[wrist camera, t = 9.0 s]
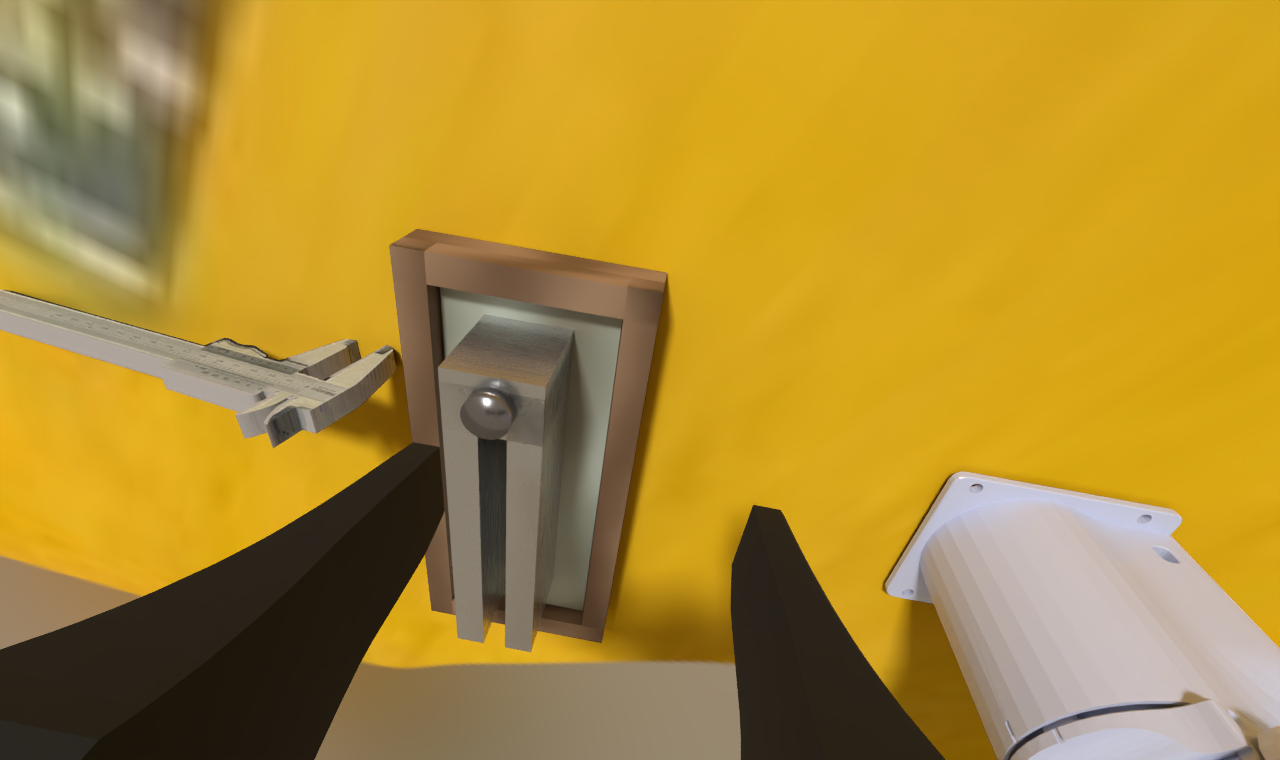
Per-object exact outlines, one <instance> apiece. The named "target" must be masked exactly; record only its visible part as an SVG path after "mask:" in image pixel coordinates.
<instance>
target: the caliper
mask: <svg viewBox="0 0 1280 760" xmlns="http://www.w3.org/2000/svg"><path fill="white" fill-rule="evenodd" d="M0 330H3V331H6V332H10V333H13V334H16V335H19V336H23V337H26V338H29V339H32V340H36V341H39V342H42V343H46V344H49V345H52V346H56V347H59V348H62V349H66V350H69V351H72V352H76V353H79V354H82V355H86V356H89V357H92V358H96V359H99V360H102V361H105V362H109V363H112V364H115V365H119V366H122V367H125V368H129V369H132V370H135V371H139V372H142V373H145V374H149V375H152V376H155V377H159V378H162V379H163V381H164V384H165V386H166V388H167V389H169V390H172V391H175V392H179V393H182V394H185V395H188V396H191V397H194V398H197V399H200V400H203V401H206V402H210V403H213V404H216V405H219V406H222V407H225V408H228V409H231V410H234V411H237V412H238V413H237V414H236V417H237V420H238V423H239V425H240V428H241V430H242V433H243V436H244V438H250V437H254V436H257V435H260V434H264V433H268V436H269V438H270V441H271V444H272V446H273V448H274V447H276V446H277V445H279V444H281V443H282V442H284V441H285V440H287V439H288V438H290V437H292V436H293V435H295V434H296V433H298V432H299V431H301V430H305V431H309V432H313V433H318V432H319V431H321V430H322V429H324V428H326V427H327V426H329V425H331V424H332V423H334V422H335V421H337V420H339V419H340V418H342V417H344V416H345V415H347V414H348V413H350V412H352V411H353V410H355V409H356V408H358V407H360V406H361V405H362V404H363V403H364V402H365V401H366V400H367V399H368V398H369V397H370V396H371V395H372V394H373V393H374V392H375V391H376V390H377V389H378V388H380V387H381V386H382V385H383V384H384V383H385V382H386V381H387V380H388V379H389V378H390V376H391V375H392V374H393V373H394V372H395V371H396V365H395V359H394V353H393V349H392V348H391V347H390V346H388V345H385V346H384V347H382V348H380V349H378V350H377V351H375V352H373V353H372V354H370V355H368V356H366V357H364V358H362V359H361V357H360V352H359V347H358V342H357V341H356V340H349V339H343V340H340V341H337V342H334V343H331V344H328V345H325V346H322V347H319V348H316V349H313V350H310V351H307V352H304V353H301V354H298V355H295V356H292V357H289V358H286V359H283V360H276V359H273V358H269V357H268V355H267V354H266V353H265V352H263V351H262V350H260V349H259V348H257V347H256V346H252V345H242V344H239V343H237V342H235V341H233V340H232V339H229V338H223V339H219V340H217V341H214V342H212V343H209V344H207V345H201V344H198V343H194V342H190V341H187V340H183V339H180V338H176V337H172V336H169V335H165V334H162V333H158V332H154V331H151V330H147V329H144V328H140V327H136V326H133V325H129V324H126V323H122V322H118V321H115V320H111V319H108V318H104V317H100V316H97V315H93V314H90V313H86V312H83V311H79V310H76V309H72V308H69V307H66V306H62V305H59V304H55V303H52V302H48V301H45V300H41V299H38V298H34V297H31V296H27V295H24V294H20V293H17V292H13V291H7V290H0Z"/></svg>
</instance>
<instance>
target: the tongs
mask: <svg viewBox="0 0 1280 760" xmlns="http://www.w3.org/2000/svg"><path fill="white" fill-rule="evenodd" d="M573 335H574V330H571V329H565V328H560V327H554V326H549V325H543V324H537V323H532V322H526V321H521V320H515V319H510V318H504V317H498V316H493V315H487V314H484V315H483V316H482V318H481V319H480V320H479V321H478V322H477V323H476V324H475V326H474V327H473V328H472V329H471V330H470V331H469V332H468V333H467V335H466V336H465V337H464V338H463V339H462V340H461V341H460V343H459V344H458V345H457V346H456V347H455V348H454V349H453V350H452V352H451V353H450V354H449V355H448V356H447V357H446V358H445V360H444V361H443V362H442V363H441V364H440V365H439V366H438V377H439V391H440V404H441V418H442V431H443V445H444V458H445V472H446V485H447V499H448V512H449V526H450V539H451V553H452V566H453V580H454V593H455V607H456V620H457V634H458V638H460V639H466V640H471V641H476V642H481V643H484V641H485V638H486V635H487V633H488V630H489V628H490V625H491V623H492V620H493V617H494V615H495V612H496V610H497V607H498V604H499V602H500V599H501V597H502V594H503V592H504V589H505V586H506V601H505V647H507V648H512V649H517V650H522V651H528V652H531V650H532V647H533V644H534V640H535V637H536V634H537V631H538V627H539V624H540V621H541V617H542V614H543V611H544V607H545V604H546V601H547V597H548V594H549V591H550V587H551V584H552V581H553V575H554V563H555V551H556V539H557V527H558V515H559V503H560V491H561V479H562V467H563V455H564V443H565V431H566V419H567V407H568V395H569V383H570V371H571V359H572V347H573Z"/></svg>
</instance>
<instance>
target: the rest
mask: <svg viewBox="0 0 1280 760" xmlns="http://www.w3.org/2000/svg"><path fill="white" fill-rule="evenodd" d="M389 247H390V255H391V264H392V273H393V281H394V290H395V299H396V307H397V316H398V325H399V333H400V342H401V350H402V359H403V368H404V376H405V385H406V394H407V402H408V411H409V420H410V428H411V437H412V443H413V442H416V443H421V444H426V445H432V446H437V447H440V458H441V471H442V483H443V496H444V508H445V511H444V514H443V516H442V518H441V521H440V523H439V525H438V528H437V530H436V532H435V534H434V537H433V539H432V541H431V543H430V545H429V547H428V549H427V552H426V553H425V558H426V566H427V575H428V584H429V592H430V601H431V610H432V611H437V612H443V613H448V614H453V615H456V607H455V593H454V580H453V566H452V553H451V539H450V526H449V512H448V499H447V485H446V472H445V458H444V445H443V431H442V418H441V404H440V391H439V377H438V366H439V365H440V364H441V363H442V362H443V361H444V360H445V358H446V357H447V356H448V355H449V354H450V353H451V352H452V350H453V349H454V348H455V347H456V346H457V345H458V344H459V343H460V341H461V340H462V339H463V338H464V337H465V336H466V335H467V333H468V332H469V331H470V330H471V329H472V328H473V327H474V326H475V324H476V323H477V322H478V321H479V320H480V319H481V318H482V316H483V315H484V314H487V315H493V316H498V317H504V318H510V319H515V320H521V321H526V322H532V323H537V324H543V325H549V326H554V327H560V328H565V329H571V330H574V335H573V347H572V359H571V371H570V383H569V395H568V407H567V419H566V431H565V443H564V455H563V467H562V479H561V491H560V503H559V515H558V527H557V539H556V551H555V563H554V575H553V581H552V584H551V587H550V591H549V594H548V597H547V601H546V604H545V607H544V611H543V614H542V617H541V621H540V624H539V627H538V631H542V632H547V633H552V634H557V635H562V636H568V637H573V638H578V639H583V640H588V641H594V642H599V643H602V638H603V633H604V627H605V622H606V616H607V611H608V605H609V600H610V594H611V588H612V583H613V577H614V571H615V566H616V560H617V554H618V549H619V543H620V537H621V532H622V526H623V520H624V515H625V509H626V503H627V498H628V492H629V486H630V481H631V475H632V469H633V464H634V458H635V452H636V447H637V441H638V435H639V430H640V424H641V418H642V413H643V407H644V401H645V396H646V390H647V384H648V379H649V373H650V367H651V362H652V356H653V350H654V345H655V339H656V333H657V328H658V322H659V316H660V311H661V305H662V299H663V294H664V288H665V282H666V277H667V273H664V272H659V271H653V270H647V269H642V268H636V267H630V266H625V265H619V264H613V263H608V262H602V261H596V260H590V259H585V258H579V257H573V256H568V255H562V254H556V253H551V252H545V251H539V250H534V249H528V248H522V247H517V246H511V245H505V244H499V243H494V242H488V241H482V240H477V239H471V238H465V237H460V236H454V235H448V234H443V233H437V232H431V231H426V230H420V229H416V230H415V231H413V232H411V233H410V234H408V235H406V236H404V237H403V238H401V239H399V240H397V241H396V242H394V243H392V244H391V245H389ZM505 601H506V586H505V589H504V592H503V594H502V597H501V599H500V602H499V604H498V607H497V610H496V612H495V615H494V617H493V620H492V622H495V623H500V624H505Z"/></svg>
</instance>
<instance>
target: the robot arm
mask: <svg viewBox="0 0 1280 760" xmlns="http://www.w3.org/2000/svg"><path fill="white" fill-rule="evenodd" d="M974 484H977V485H975V486H973V487H971V486H972V485H974ZM444 511H445V508H444V496H443V483H442V471H441V458H440V447H437V446H432V445H426V444H421V443H416V442H413V443H412V444H410V445H409V446H407V447H406V448H404V449H403V450H401V451H399V452H398V453H397V454H395V455H394V456H392V457H391V458H389V459H388V460H386V461H385V462H383V463H382V464H381V465H379V466H378V467H376V468H375V469H373V470H372V471H370V472H369V473H368V474H366V475H365V476H363V477H362V478H360V479H359V480H357V481H356V482H354V483H353V484H351V485H350V486H348V487H347V488H345V489H344V490H342V491H341V492H339V493H338V494H336V495H335V496H333V497H332V498H330V499H329V500H327V501H326V502H324V503H322V504H321V505H319V506H318V507H316V508H314V509H313V510H311V511H309V512H308V513H306V514H305V515H303V516H301V517H300V518H298V519H296V520H295V521H293V522H291V523H290V524H288V525H286V526H285V527H283V528H282V529H280V530H278V531H276V532H274V533H273V534H271V535H269V536H267V537H266V538H264V539H262V540H260V541H258V542H256V543H255V544H253V545H251V546H249V547H247V548H245V549H243V550H241V551H239V552H237V553H235V554H233V555H231V556H230V557H228V558H226V559H224V560H222V561H220V562H218V563H216V564H214V565H211V566H209V567H207V568H205V569H203V570H201V571H198V572H196V573H194V574H192V575H190V576H187V577H185V578H183V579H181V580H179V581H176V582H174V583H172V584H170V585H168V586H166V587H163V588H161V589H159V590H157V591H155V592H152V593H150V594H148V595H145V596H143V597H140V598H138V599H136V600H133V601H131V602H128V603H126V604H124V605H121V606H119V607H116V608H114V609H111V610H108V611H106V612H103V613H101V614H98V615H96V616H93V617H90V618H88V619H85V620H83V621H80V622H78V623H75V624H72V625H69V626H67V627H64V628H61V629H59V630H56V631H53V632H51V633H48V634H44V635H42V636H39V637H36V638H33V639H30V640H27V641H24V642H21V643H18V644H15V645H12V646H9V647H7V648H4V649H1V650H0V760H314V759H315V757H316V755H317V753H318V750H319V748H320V746H321V744H322V741H323V740H324V737H325V735H326V733H327V731H328V729H329V727H330V724H331V722H332V720H333V718H334V716H335V714H336V712H337V709H338V707H339V705H340V703H341V701H342V698H343V697H344V695H345V693H346V691H347V689H348V687H349V685H350V683H351V681H352V679H353V676H354V674H355V673H356V671H357V668H358V666H359V664H360V662H361V661H362V659H363V657H364V655H365V653H366V652H367V650H368V648H369V646H370V644H371V643H372V641H373V639H374V638H375V636H376V634H377V633H378V631H379V629H380V628H381V626H382V625H383V623H384V621H385V620H386V618H387V616H388V615H389V613H390V611H391V610H392V608H393V606H394V605H395V603H396V602H397V600H398V598H399V597H400V595H401V593H402V592H403V590H404V588H405V587H406V585H407V584H408V582H409V580H410V579H411V577H412V575H413V574H414V572H415V570H416V569H417V567H418V565H419V564H420V562H421V560H422V558H423V557H424V555H425V553H426V552H427V549H428V547H429V545H430V543H431V541H432V539H433V537H434V534H435V532H436V530H437V528H438V525H439V523H440V521H441V518H442V516H443V514H444ZM1181 522H1182V518H1181V516H1180V515H1179V514H1178V513H1177V512H1176V511H1174V510H1172V509H1168V508H1163V507H1157V506H1152V505H1146V504H1141V503H1135V502H1130V501H1124V500H1119V499H1113V498H1108V497H1102V496H1097V495H1091V494H1086V493H1080V492H1075V491H1069V490H1064V489H1058V488H1053V487H1047V486H1042V485H1036V484H1031V483H1025V482H1020V481H1014V480H1009V479H1003V478H998V477H992V476H987V475H981V474H976V473H970V472H958V473H955V474H953V475H952V476H951V477H950V478H949V479H948V481H947V483H946V484H945V486H944V488H943V489H942V491H941V493H940V494H939V496H938V498H937V499H936V501H935V502H934V504H933V506H932V507H931V509H930V511H929V512H928V514H927V516H926V517H925V519H924V520H923V522H922V524H921V525H920V527H919V529H918V530H917V532H916V534H915V535H914V537H913V539H912V540H911V542H910V543H909V545H908V547H907V548H906V550H905V552H904V553H903V555H902V557H901V558H900V560H899V561H898V563H897V565H896V566H895V568H894V570H893V571H892V573H891V575H890V576H889V578H888V579H887V581H886V583H885V588H886V591H887V593H888V594H889V595H891V596H894V597H899V598H905V599H910V600H915V601H921V602H926V603H931V604H934V606H935V608H936V611H937V613H938V616H939V618H940V621H941V623H942V626H943V628H944V630H945V633H946V635H947V638H948V640H949V643H950V645H951V647H952V650H953V652H954V655H955V657H956V660H957V662H958V664H959V667H960V669H961V672H962V674H963V677H964V679H965V682H966V684H967V686H968V689H969V691H970V694H971V696H972V699H973V701H974V703H975V706H976V708H977V711H978V713H979V716H980V718H981V720H982V723H983V725H984V728H985V730H986V733H987V735H988V738H989V740H990V742H991V745H992V747H993V750H994V752H995V755H996V757H997V759H998V760H1280V648H1279V647H1278V646H1277V645H1276V644H1275V643H1274V642H1273V641H1272V640H1271V639H1270V638H1269V637H1268V636H1267V635H1266V634H1265V633H1264V632H1263V631H1262V630H1261V629H1260V628H1259V627H1258V626H1257V625H1256V624H1255V622H1254V621H1253V620H1252V619H1251V618H1250V617H1249V616H1248V615H1247V614H1246V613H1245V612H1244V611H1243V610H1242V609H1241V608H1240V607H1239V606H1238V605H1237V604H1236V603H1235V602H1234V601H1233V600H1232V599H1231V598H1230V597H1229V596H1228V595H1227V594H1226V592H1225V591H1224V590H1223V589H1222V588H1221V587H1220V586H1219V585H1218V584H1217V583H1216V582H1215V581H1214V580H1213V579H1212V578H1211V577H1210V576H1209V575H1208V574H1207V573H1206V572H1205V571H1204V570H1203V569H1202V568H1201V567H1200V566H1199V565H1198V563H1197V562H1196V561H1195V560H1194V559H1193V558H1192V557H1191V556H1190V555H1189V554H1188V553H1187V552H1186V551H1185V550H1184V549H1183V548H1182V547H1181V546H1180V545H1179V544H1178V543H1177V542H1176V541H1175V540H1174V539H1173V538H1172V537H1171V536H1170V535H1171V534H1172V533H1173V532H1174V531H1175V530H1176V529H1177V528H1178V527H1179V525H1180V524H1181ZM731 619H732V631H733V643H734V654H735V665H736V676H737V688H738V698H739V710H740V727H741V760H945V759H944V757H943V756H942V755H941V754H940V753H939V751H938V750H937V749H936V748H935V747H934V746H933V744H932V743H931V742H930V741H929V740H928V738H927V737H926V736H925V735H924V734H923V732H922V731H921V730H920V729H919V728H918V726H917V725H916V724H915V723H914V722H913V721H912V719H911V718H910V717H909V716H908V715H907V713H906V712H905V711H904V710H903V708H902V707H901V706H900V704H899V703H898V702H897V700H896V699H895V698H894V697H893V695H892V694H891V693H890V691H889V690H888V689H887V687H886V686H885V685H884V683H883V682H882V681H881V679H880V678H879V676H878V675H877V674H876V672H875V671H874V670H873V668H872V667H871V665H870V664H869V662H868V661H867V660H866V658H865V657H864V655H863V654H862V652H861V651H860V649H859V648H858V646H857V645H856V643H855V642H854V640H853V639H852V637H851V636H850V634H849V632H848V631H847V629H846V628H845V626H844V625H843V623H842V621H841V620H840V618H839V617H838V615H837V613H836V612H835V610H834V608H833V607H832V605H831V603H830V602H829V600H828V598H827V596H826V595H825V593H824V591H823V589H822V588H821V586H820V584H819V582H818V581H817V579H816V577H815V575H814V574H813V572H812V570H811V568H810V566H809V564H808V562H807V560H806V559H805V557H804V555H803V553H802V551H801V549H800V547H799V545H798V543H797V541H796V539H795V537H794V535H793V533H792V531H791V529H790V527H789V525H788V523H787V521H786V519H785V517H784V515H783V513H782V512H781V510H778V509H772V508H767V507H762V506H756V505H753V507H752V510H751V513H750V516H749V518H748V521H747V524H746V527H745V530H744V532H743V535H742V538H741V541H740V544H739V546H738V549H737V552H736V555H735V558H734V560H733V563H732V578H731Z"/></svg>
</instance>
